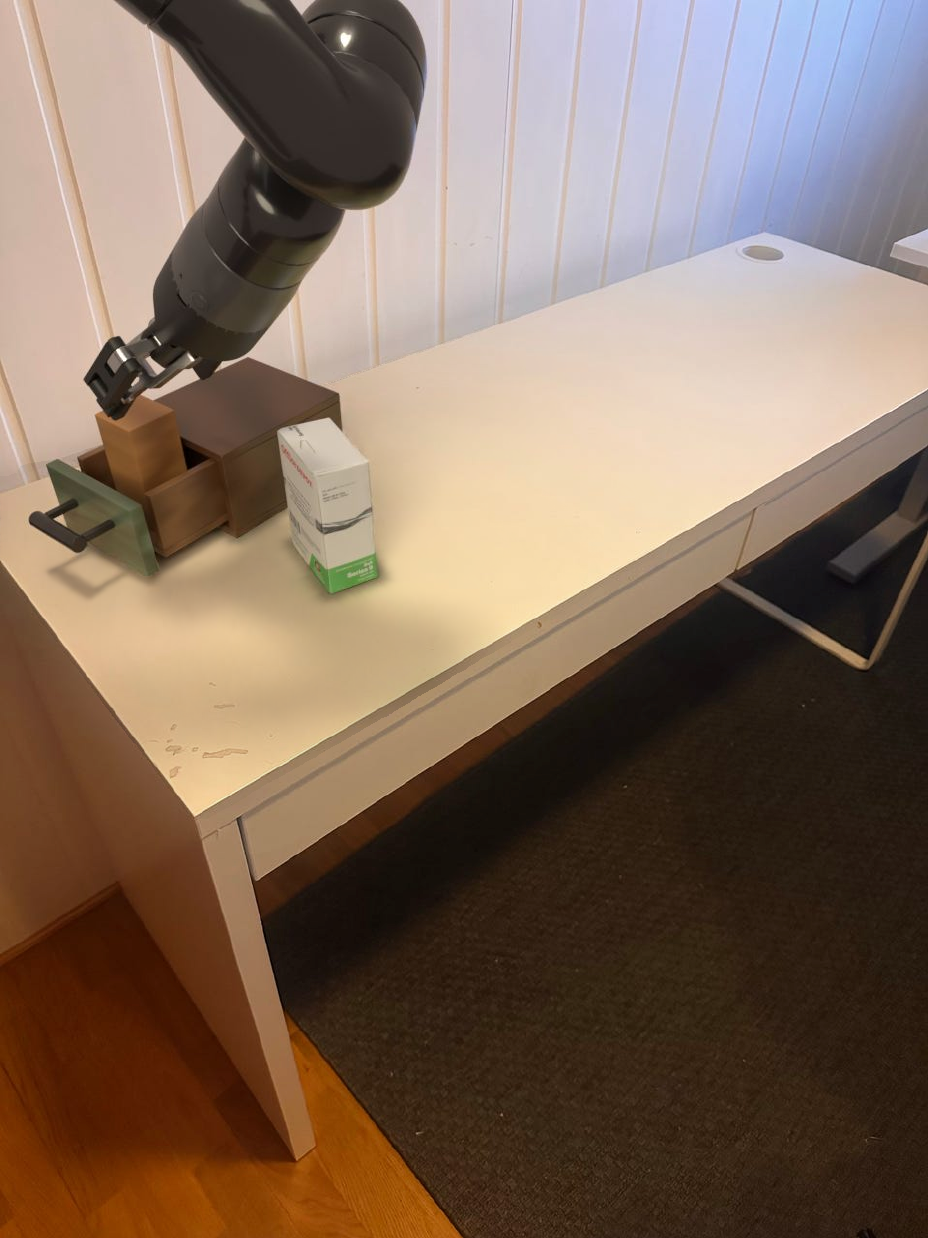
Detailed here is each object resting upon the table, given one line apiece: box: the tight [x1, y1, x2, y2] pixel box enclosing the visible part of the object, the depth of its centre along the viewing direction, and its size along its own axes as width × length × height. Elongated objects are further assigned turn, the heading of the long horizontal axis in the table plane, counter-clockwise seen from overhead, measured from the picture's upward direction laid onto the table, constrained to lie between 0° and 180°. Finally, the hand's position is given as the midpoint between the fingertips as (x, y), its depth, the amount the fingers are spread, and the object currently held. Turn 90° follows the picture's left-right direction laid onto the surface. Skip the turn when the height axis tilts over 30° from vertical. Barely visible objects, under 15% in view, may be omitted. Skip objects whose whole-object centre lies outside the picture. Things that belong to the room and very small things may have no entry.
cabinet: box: [152, 356, 344, 539], centre depth 86 cm, size 15×13×9 cm
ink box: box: [277, 418, 379, 594], centre depth 75 cm, size 9×5×12 cm, turn 30°
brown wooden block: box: [94, 394, 187, 531], centre depth 78 cm, size 5×5×10 cm
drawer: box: [28, 444, 228, 578], centre depth 79 cm, size 18×11×7 cm, turn 143°
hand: (154, 388), depth 71 cm, fingers open, 8 cm apart
